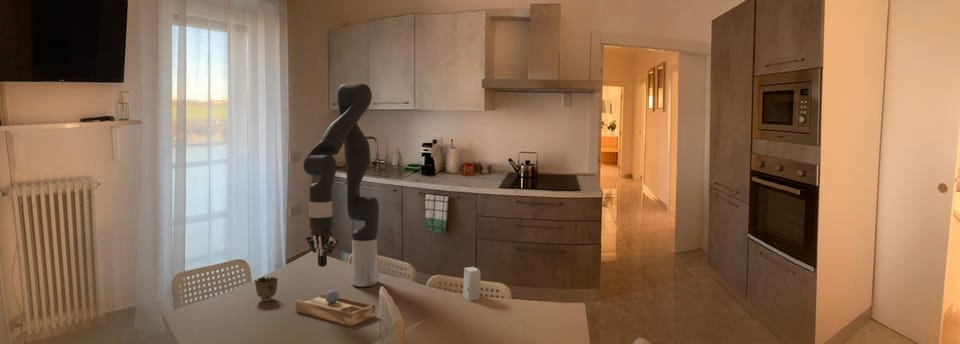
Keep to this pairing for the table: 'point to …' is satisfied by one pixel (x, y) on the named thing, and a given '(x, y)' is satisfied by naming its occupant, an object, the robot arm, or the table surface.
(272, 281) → the cup
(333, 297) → the ball
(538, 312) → the table surface
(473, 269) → the skincare box
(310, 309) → the tray
